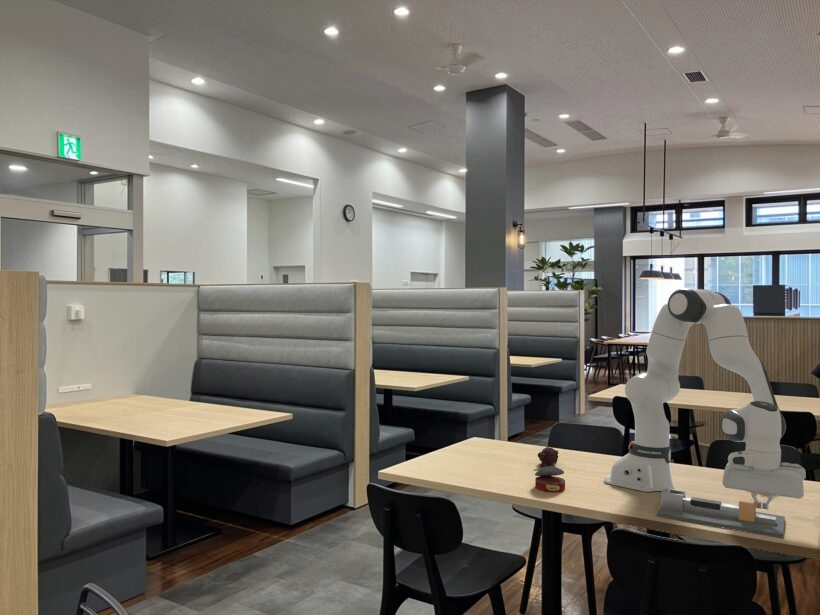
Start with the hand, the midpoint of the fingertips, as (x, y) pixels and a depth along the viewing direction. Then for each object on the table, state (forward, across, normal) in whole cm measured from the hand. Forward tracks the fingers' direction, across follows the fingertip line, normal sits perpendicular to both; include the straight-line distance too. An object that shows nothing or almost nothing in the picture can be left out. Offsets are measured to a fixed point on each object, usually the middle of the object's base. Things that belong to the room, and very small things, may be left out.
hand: (761, 508), depth 182 cm
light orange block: (+4, +4, 0) cm, 5 cm away
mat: (+5, +10, 0) cm, 12 cm away
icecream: (+5, +74, -32) cm, 81 cm away
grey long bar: (+4, +11, 0) cm, 12 cm away
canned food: (+5, +62, -1) cm, 63 cm away
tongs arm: (+2, +13, 0) cm, 13 cm away
